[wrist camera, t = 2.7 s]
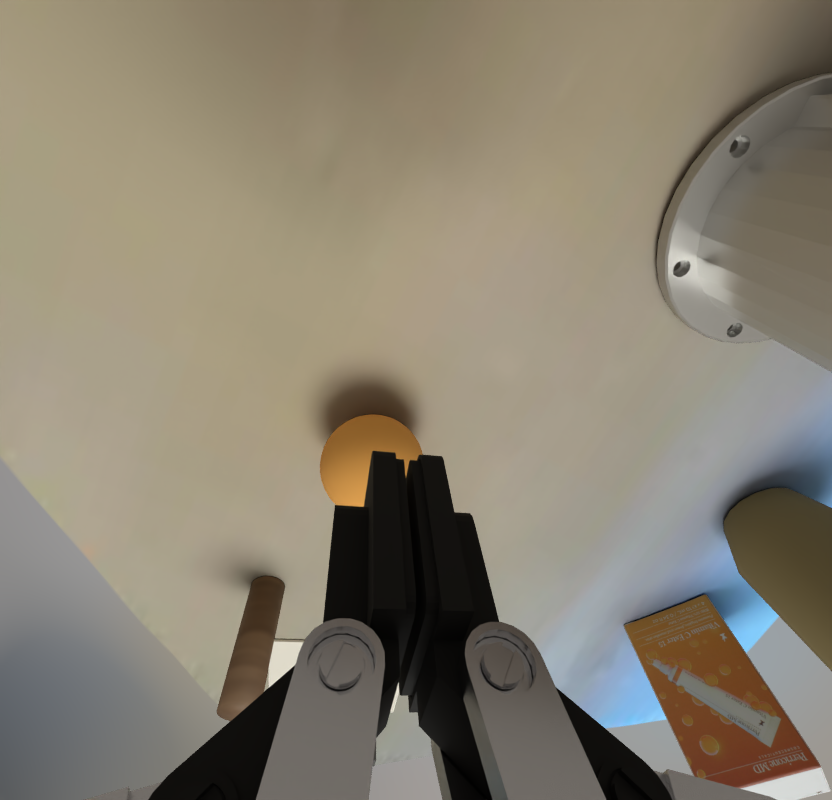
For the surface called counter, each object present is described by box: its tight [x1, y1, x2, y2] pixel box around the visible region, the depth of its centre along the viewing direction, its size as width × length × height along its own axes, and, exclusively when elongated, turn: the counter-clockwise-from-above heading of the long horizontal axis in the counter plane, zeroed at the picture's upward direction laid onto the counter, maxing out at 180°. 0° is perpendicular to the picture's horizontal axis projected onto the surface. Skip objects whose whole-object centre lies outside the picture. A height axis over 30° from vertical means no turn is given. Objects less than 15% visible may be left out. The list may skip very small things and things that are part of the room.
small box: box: [624, 595, 831, 800], centre depth 38 cm, size 8×6×13 cm
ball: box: [320, 414, 423, 507], centre depth 26 cm, size 6×6×6 cm
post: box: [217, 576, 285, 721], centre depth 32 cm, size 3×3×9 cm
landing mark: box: [269, 639, 399, 712], centre depth 44 cm, size 13×13×1 cm
